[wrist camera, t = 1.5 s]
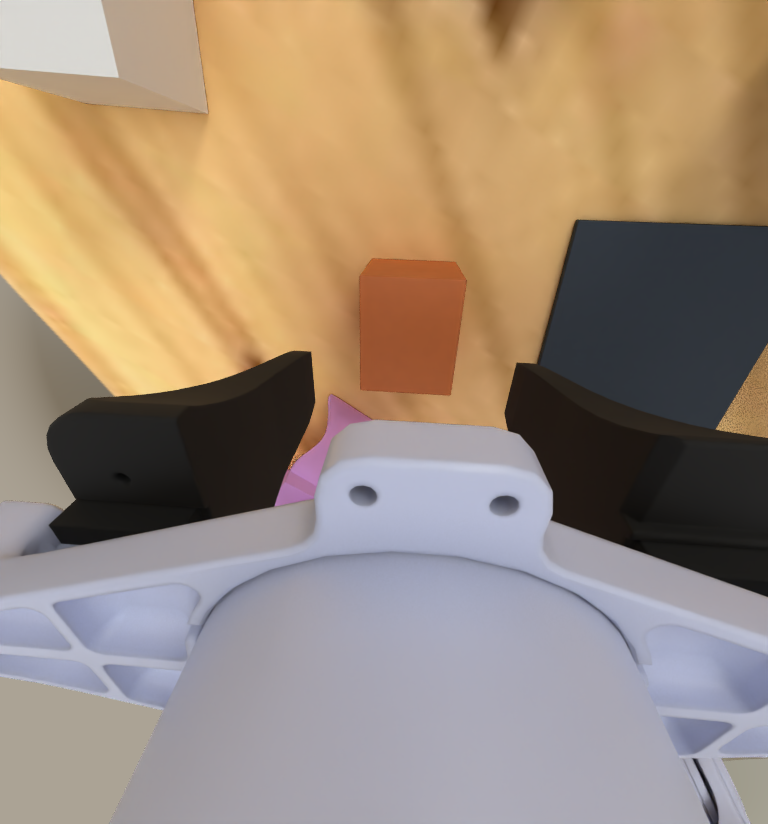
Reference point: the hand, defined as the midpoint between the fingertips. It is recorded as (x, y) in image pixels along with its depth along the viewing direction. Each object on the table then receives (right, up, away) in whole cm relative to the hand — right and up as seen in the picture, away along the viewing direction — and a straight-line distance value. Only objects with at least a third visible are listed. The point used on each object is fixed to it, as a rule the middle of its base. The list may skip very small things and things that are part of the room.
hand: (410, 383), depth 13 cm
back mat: (+14, +1, +10) cm, 17 cm away
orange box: (+1, +5, +8) cm, 10 cm away
